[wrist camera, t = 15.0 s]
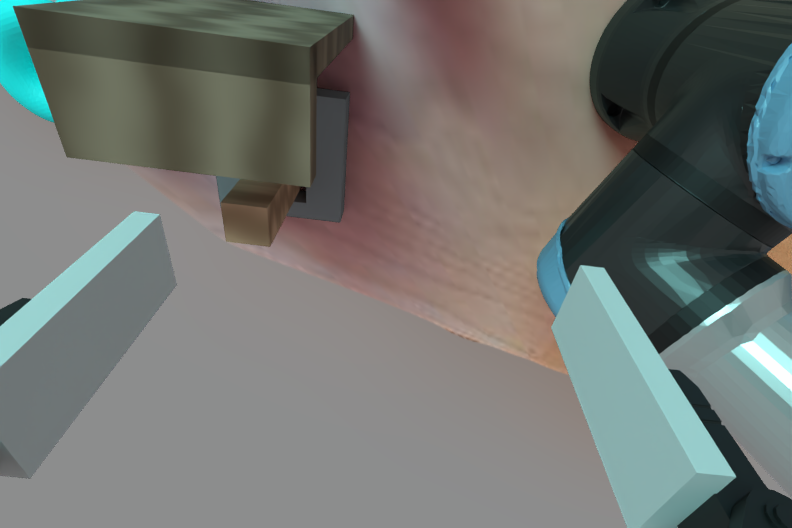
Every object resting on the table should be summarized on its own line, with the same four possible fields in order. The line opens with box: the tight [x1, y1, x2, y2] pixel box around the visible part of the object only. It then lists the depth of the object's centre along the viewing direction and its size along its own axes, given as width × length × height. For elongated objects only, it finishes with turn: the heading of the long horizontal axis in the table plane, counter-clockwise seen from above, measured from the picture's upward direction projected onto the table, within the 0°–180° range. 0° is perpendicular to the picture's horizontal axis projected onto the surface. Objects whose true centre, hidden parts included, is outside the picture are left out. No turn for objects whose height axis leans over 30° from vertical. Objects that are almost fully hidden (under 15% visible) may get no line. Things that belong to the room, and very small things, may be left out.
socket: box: [216, 88, 350, 222], centre depth 46 cm, size 14×14×3 cm
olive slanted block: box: [13, 0, 354, 187], centre depth 33 cm, size 16×8×20 cm, turn 83°
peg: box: [220, 179, 302, 247], centre depth 42 cm, size 4×4×14 cm
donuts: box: [0, 0, 75, 122], centre depth 38 cm, size 10×10×10 cm
